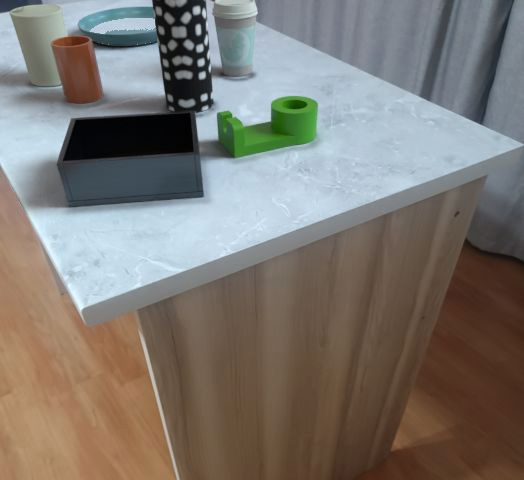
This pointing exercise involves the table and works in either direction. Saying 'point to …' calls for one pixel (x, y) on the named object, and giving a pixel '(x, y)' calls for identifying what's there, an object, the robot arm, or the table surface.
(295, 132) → the tape dispenser
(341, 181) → the table surface
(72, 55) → the cup
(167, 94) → the white-spotted black cylinder
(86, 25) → the teal plate
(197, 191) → the dark grey storage bin
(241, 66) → the coffee cup
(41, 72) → the can
